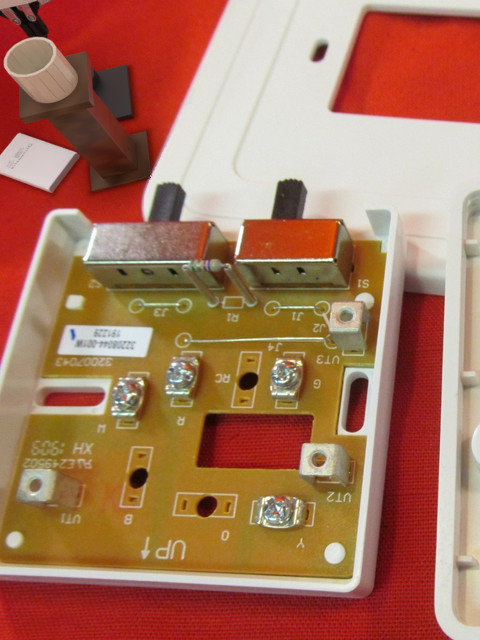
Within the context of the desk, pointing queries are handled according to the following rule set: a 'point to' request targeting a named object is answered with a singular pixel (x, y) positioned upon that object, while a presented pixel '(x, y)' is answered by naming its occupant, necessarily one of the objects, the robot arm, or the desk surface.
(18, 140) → the hard drive
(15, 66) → the cup
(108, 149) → the stand
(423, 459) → the desk surface
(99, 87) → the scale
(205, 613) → the desk surface
